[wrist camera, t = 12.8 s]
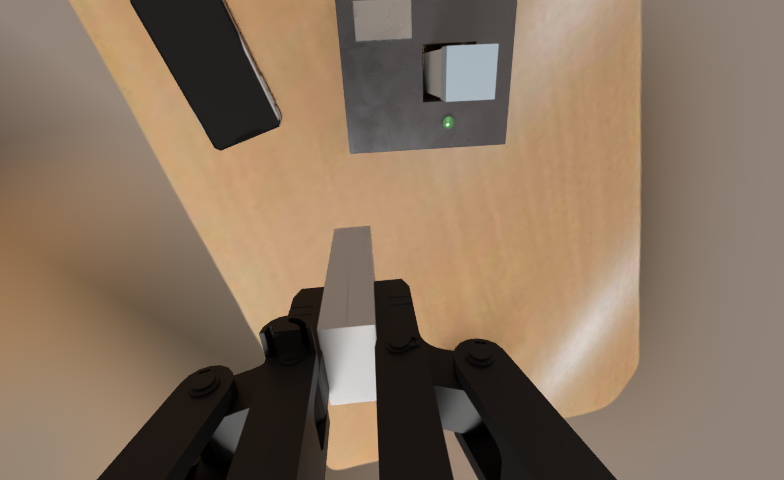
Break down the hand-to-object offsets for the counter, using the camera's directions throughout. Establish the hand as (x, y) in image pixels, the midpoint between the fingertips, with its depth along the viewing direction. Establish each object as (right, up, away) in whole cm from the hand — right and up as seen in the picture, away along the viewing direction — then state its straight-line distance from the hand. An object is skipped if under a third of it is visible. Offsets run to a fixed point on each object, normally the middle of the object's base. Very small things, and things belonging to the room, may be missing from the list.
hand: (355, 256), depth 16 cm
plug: (+7, +18, +22) cm, 30 cm away
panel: (+5, +18, +22) cm, 29 cm away
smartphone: (-16, +18, +21) cm, 32 cm away
